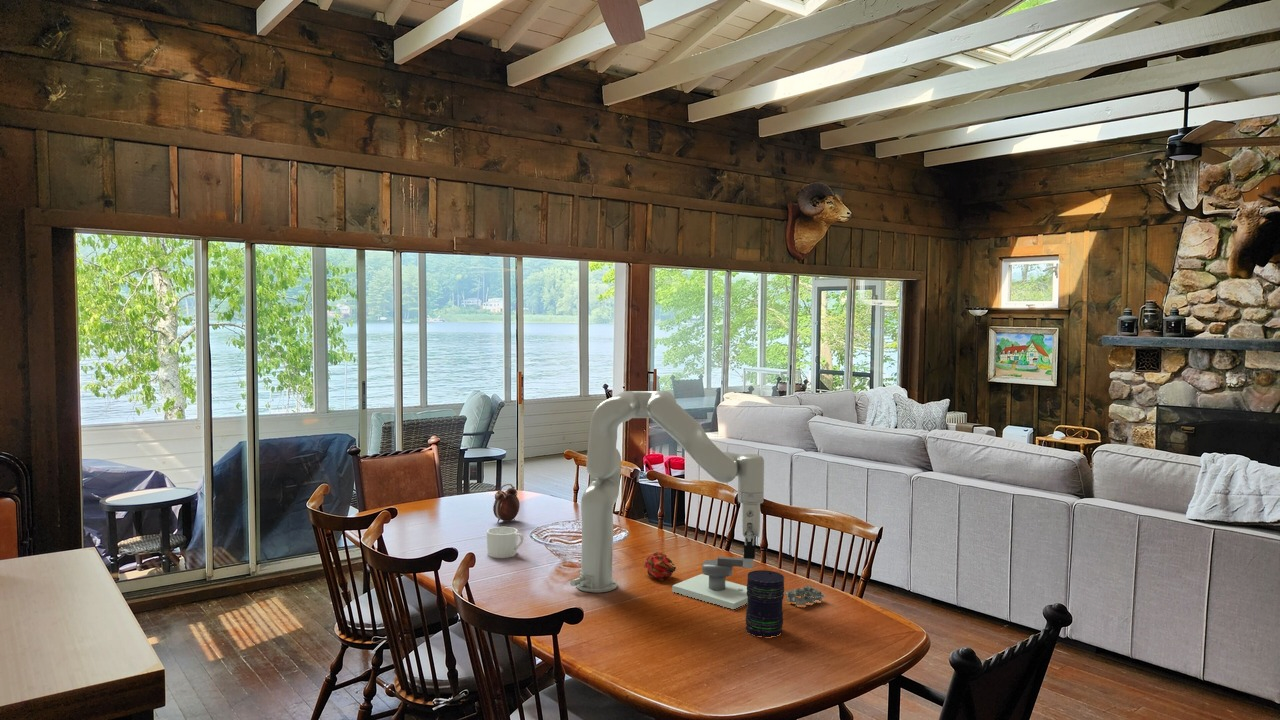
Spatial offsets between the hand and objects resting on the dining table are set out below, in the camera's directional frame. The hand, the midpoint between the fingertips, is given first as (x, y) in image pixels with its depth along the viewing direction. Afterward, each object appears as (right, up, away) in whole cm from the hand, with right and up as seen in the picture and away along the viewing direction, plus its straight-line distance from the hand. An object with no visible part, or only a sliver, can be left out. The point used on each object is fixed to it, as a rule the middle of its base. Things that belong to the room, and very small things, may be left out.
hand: (749, 553), depth 240 cm
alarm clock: (-85, -7, +78) cm, 116 cm away
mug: (-78, -9, +37) cm, 87 cm away
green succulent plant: (+16, -14, -2) cm, 21 cm away
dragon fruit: (-26, -12, +17) cm, 33 cm away
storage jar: (0, -15, -25) cm, 29 cm away
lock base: (-10, -13, +2) cm, 16 cm away
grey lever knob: (-6, -6, +1) cm, 9 cm away
